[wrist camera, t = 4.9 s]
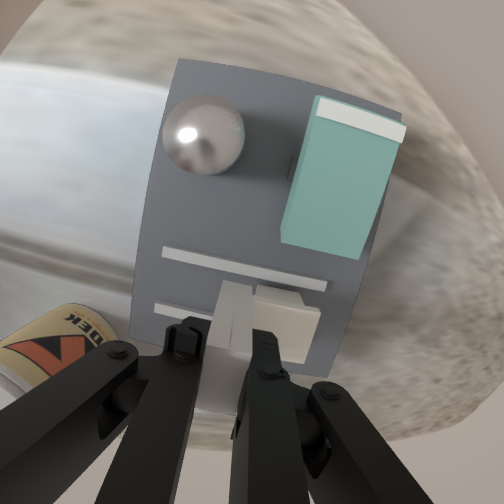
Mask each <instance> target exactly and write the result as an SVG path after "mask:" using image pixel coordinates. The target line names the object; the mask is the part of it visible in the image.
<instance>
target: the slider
mask: <svg viewBox="0 0 504 504" xmlns="http://www.w3.org/2000/svg"><path fill="white" fill-rule="evenodd" d="M320 315H321V312H320V310H319V308H315V307H310V306H305V305H304V303H303V300H302V298H301V295H300V293H298V292H293V291H289V290H284V289H279V288H274V287H269V286H264V285H260V284H258V285H257V289H256V293H255V295H252V328H253V329H259V330H264V331H269V332H272V333H273V334H274V335H275V336H276V337H277V338H278V344H279V352H280V358H281V361H287V362H294V363H300V364H304V362H305V360H306V357H307V354H308V351H309V348H310V345H311V342H312V339H313V336H314V333H315V330H316V327H317V324H318V321H319V318H320Z"/></svg>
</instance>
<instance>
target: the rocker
mask: <svg viewBox="0 0 504 504" xmlns="http://www.w3.org/2000/svg"><path fill="white" fill-rule="evenodd" d="M406 128H407V127H406V126H405V124H403V123H401V122H398V121H396V120H393V119H390V118H388V117H385V116H382V115H380V114H377V113H374V112H371V111H368V110H365V109H363V108H360V107H357V106H354V105H350V104H347V103H344V102H341V101H338V100H335V99H331V98H328V97H324V96H321V95H317V96H315V98H314V102H313V106H312V110H311V114H310V118H309V122H308V125H307V129H306V133H305V137H304V141H303V145H302V148H301V152H300V156H299V160H298V163H297V167H296V171H295V175H294V178H293V182H292V186H291V190H290V193H289V197H288V201H287V204H286V208H285V212H284V215H283V219H282V222H281V226H280V233H281V242H282V243H286V244H291V245H295V246H299V247H304V248H308V249H313V250H317V251H321V252H326V253H330V254H334V255H339V256H343V257H347V258H352V259H356V260H359V257H360V255H361V252H362V250H363V247H364V245H365V242H366V239H367V237H368V234H369V232H370V229H371V226H372V224H373V221H374V218H375V216H376V213H377V210H378V207H379V205H380V202H381V199H382V196H383V193H384V190H385V187H386V184H387V182H388V179H389V176H390V172H391V169H392V166H393V163H394V160H395V157H396V154H397V151H398V147H399V144H400V143H402V142H403V138H404V135H405V132H406Z"/></svg>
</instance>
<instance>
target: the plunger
mask: <svg viewBox="0 0 504 504" xmlns="http://www.w3.org/2000/svg"><path fill="white" fill-rule="evenodd" d="M245 144H246V137H245V130H244V124H243V120H242V118H241V115H240V114H239V112H238V110H237V109H236V108H235V107H234V106H233V105H232V104H231V103H230V102H228V101H227V100H225V99H223V98H221V97H219V96H215V95H209V94H201V95H196V96H192V97H189V98H187V99H185V100H183V101H182V102H180V103H179V104H178V105H177V106H175V107H174V108H173V110H172V111H171V112H170V114H169V115H168V117H167V119H166V121H165V124H164V127H163V145H164V148H165V151H166V153H167V155H168V157H169V158H170V159H171V161H172V162H173V163H174V164H175V165H177V166H178V167H179V168H181V169H183V170H185V171H187V172H190V173H194V174H204V175H215V174H220V173H223V172H225V171H227V170H229V169H231V168H232V167H233V166H234V165H235V164H236V163H237V162H238V161H239V160H240V158H241V157H242V154H243V152H244V149H245Z"/></svg>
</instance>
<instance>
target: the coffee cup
mask: <svg viewBox="0 0 504 504" xmlns="http://www.w3.org/2000/svg"><path fill="white" fill-rule="evenodd" d="M111 340H119V339H118V337H117V335H116V333H115V331H114V330H113V328H112V327H111V326H110V324H109V323H108V322H107V321H106V320H105V319H104V318H103V317H102V316H101V315H99V314H98V313H97V312H95V311H94V310H92V309H90V308H88V307H86V306H82V305H79V304H65V305H61V306H59V307H57V308H55V309H53V310H51V311H50V312H48V313H46V314H45V315H43V316H41V317H39V318H38V319H36V320H34V321H33V322H31V323H29V324H28V325H26V326H24V327H23V328H21V329H20V330H18V331H16V332H15V333H13V334H11V335H10V336H8V337H7V338H5V339H3V340H2V341H0V410H1V409H3V408H4V407H6V406H7V405H9V404H10V403H12V402H14V401H15V400H17V399H18V398H20V397H21V396H23V395H24V394H26V393H27V392H29V391H30V390H32V389H33V388H35V387H36V386H38V385H39V384H41V383H42V382H44V381H45V380H47V379H48V378H50V377H51V376H53V375H54V374H56V373H57V372H59V371H60V370H62V369H64V368H65V367H67V366H68V365H70V364H71V363H73V362H74V361H76V360H77V359H79V358H80V357H82V356H83V355H85V354H86V353H88V352H89V351H91V350H92V349H94V348H96V347H97V346H99V345H100V344H102V343H104V342H106V341H111Z"/></svg>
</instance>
